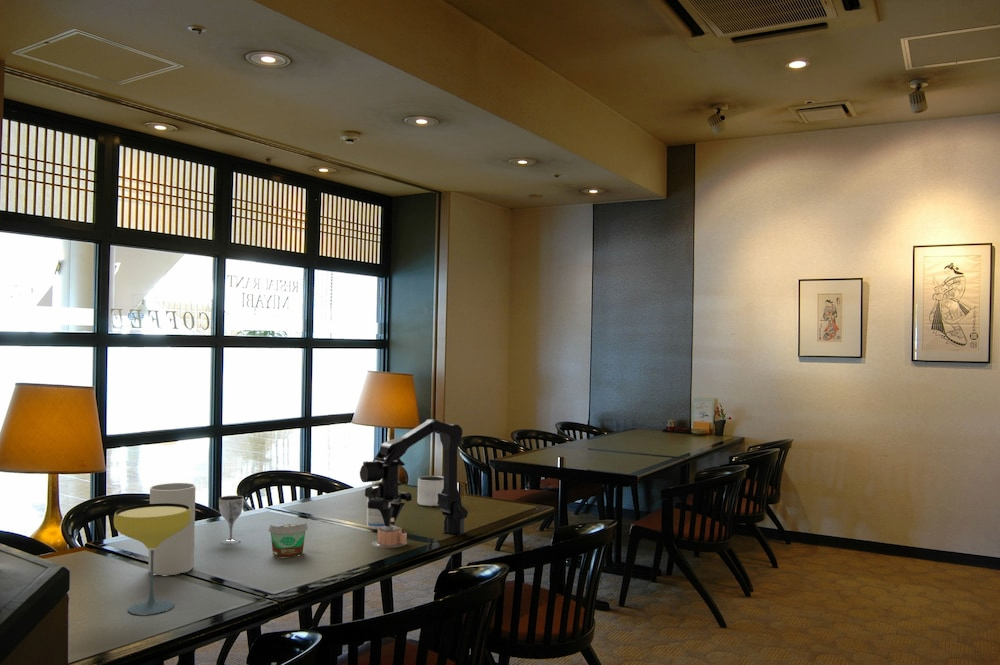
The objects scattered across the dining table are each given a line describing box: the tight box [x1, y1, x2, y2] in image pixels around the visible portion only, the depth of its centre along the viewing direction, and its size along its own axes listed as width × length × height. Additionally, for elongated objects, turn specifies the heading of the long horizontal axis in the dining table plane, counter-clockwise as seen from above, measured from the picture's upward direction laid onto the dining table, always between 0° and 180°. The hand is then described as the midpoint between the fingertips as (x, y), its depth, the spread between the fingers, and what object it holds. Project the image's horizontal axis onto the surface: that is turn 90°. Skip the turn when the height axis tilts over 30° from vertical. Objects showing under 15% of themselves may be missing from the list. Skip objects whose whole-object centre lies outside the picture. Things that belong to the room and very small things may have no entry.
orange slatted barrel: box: [377, 525, 408, 546], centre depth 266 cm, size 10×8×5 cm
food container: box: [268, 521, 308, 558], centre depth 251 cm, size 12×6×10 cm, turn 117°
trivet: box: [371, 540, 408, 549], centre depth 266 cm, size 12×12×1 cm
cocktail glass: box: [113, 503, 191, 615], centre depth 200 cm, size 18×18×25 cm
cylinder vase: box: [148, 482, 196, 575], centre depth 233 cm, size 12×12×25 cm
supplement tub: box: [366, 485, 393, 530], centre depth 291 cm, size 10×10×15 cm
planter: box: [416, 475, 444, 507], centre depth 335 cm, size 12×12×11 cm
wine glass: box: [218, 495, 244, 541], centre depth 268 cm, size 8×8×15 cm
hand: (389, 525), depth 266 cm, fingers closed on plunger, 3 cm apart
